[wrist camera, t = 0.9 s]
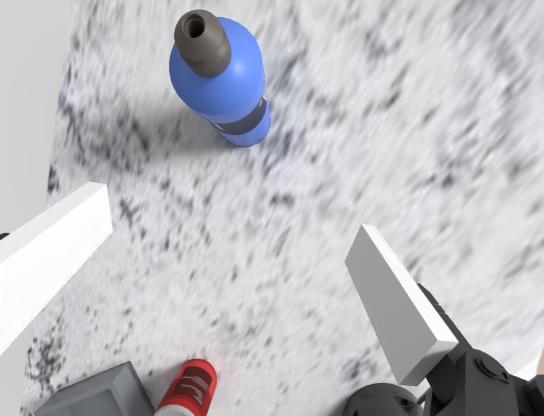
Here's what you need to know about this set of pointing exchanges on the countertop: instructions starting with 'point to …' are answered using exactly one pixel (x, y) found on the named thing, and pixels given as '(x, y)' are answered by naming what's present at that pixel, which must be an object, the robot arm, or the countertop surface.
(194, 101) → the water bottle
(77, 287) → the countertop surface
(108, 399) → the bin
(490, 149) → the countertop surface
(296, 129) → the countertop surface
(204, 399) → the canned food
